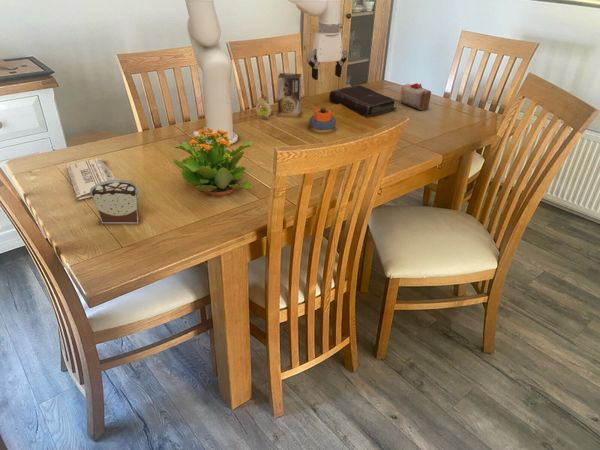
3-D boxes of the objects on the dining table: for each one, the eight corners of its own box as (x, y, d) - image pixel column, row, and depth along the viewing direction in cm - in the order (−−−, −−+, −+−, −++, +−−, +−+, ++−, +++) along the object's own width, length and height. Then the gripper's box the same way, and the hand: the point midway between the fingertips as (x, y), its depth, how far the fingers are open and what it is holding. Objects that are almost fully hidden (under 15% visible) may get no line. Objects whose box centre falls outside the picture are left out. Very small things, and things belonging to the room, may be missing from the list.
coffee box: (300, 112, 199) (302, 73, 191) (299, 117, 194) (300, 77, 185) (279, 110, 200) (279, 72, 191) (277, 116, 195) (277, 76, 186)
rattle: (280, 117, 193) (280, 89, 187) (265, 121, 189) (264, 93, 182) (269, 112, 198) (269, 85, 192) (253, 116, 193) (253, 88, 187)
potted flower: (277, 192, 139) (277, 136, 130) (210, 220, 125) (205, 160, 115) (226, 164, 154) (222, 113, 144) (161, 187, 140) (153, 131, 130)
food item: (396, 102, 214) (399, 80, 209) (409, 100, 218) (412, 78, 212) (418, 111, 204) (422, 88, 199) (431, 108, 208) (435, 86, 203)
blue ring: (317, 130, 178) (317, 124, 176) (305, 122, 185) (306, 116, 183) (339, 127, 181) (339, 121, 180) (327, 119, 188) (327, 113, 187)
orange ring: (319, 122, 178) (319, 115, 176) (311, 117, 183) (311, 109, 181) (333, 120, 180) (334, 112, 179) (326, 115, 185) (326, 107, 184)
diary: (366, 118, 196) (367, 106, 193) (328, 101, 212) (329, 90, 210) (397, 110, 205) (399, 98, 202) (359, 95, 222) (360, 84, 219)
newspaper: (123, 190, 137) (120, 183, 136) (79, 204, 133) (76, 196, 131) (107, 160, 153) (105, 153, 152) (68, 171, 149) (65, 164, 147)
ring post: (316, 134, 178) (317, 114, 174) (305, 126, 186) (305, 106, 181) (339, 131, 182) (341, 111, 178) (327, 122, 189) (328, 103, 185)
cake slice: (149, 211, 128) (144, 178, 122) (144, 223, 123) (137, 189, 117) (103, 211, 127) (96, 178, 122) (96, 223, 122) (87, 189, 117)
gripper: (344, 25, 171) (341, 72, 180) (302, 28, 164) (301, 77, 174) (355, 28, 165) (351, 77, 175) (311, 32, 159) (310, 82, 168)
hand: (326, 77), depth 174 cm, fingers open, 9 cm apart
